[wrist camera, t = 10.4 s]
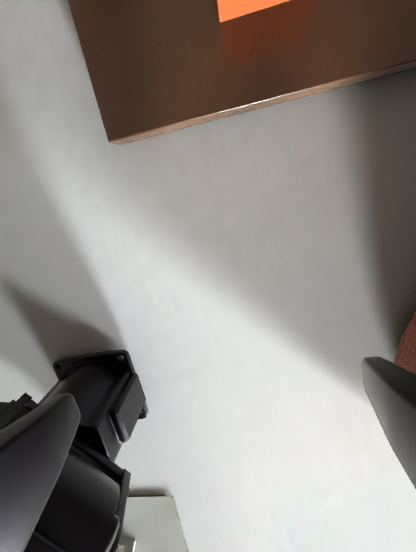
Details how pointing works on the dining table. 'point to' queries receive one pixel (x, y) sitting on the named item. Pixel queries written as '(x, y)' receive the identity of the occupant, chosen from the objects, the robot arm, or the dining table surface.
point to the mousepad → (151, 526)
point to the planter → (408, 348)
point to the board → (231, 56)
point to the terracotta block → (242, 7)
